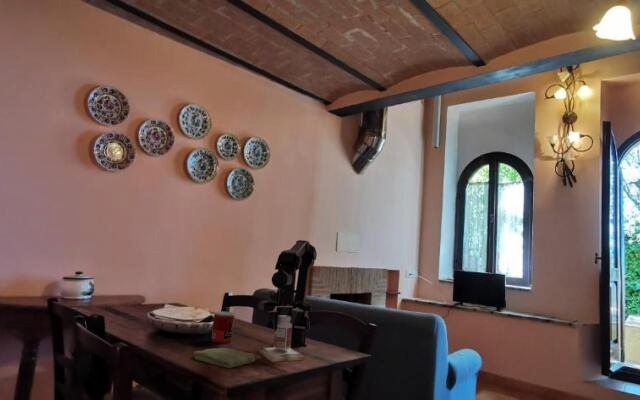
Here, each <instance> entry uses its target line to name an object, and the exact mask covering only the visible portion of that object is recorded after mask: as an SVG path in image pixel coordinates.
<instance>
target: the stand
mask: <svg viewBox="0 0 640 400" xmlns="http://www.w3.org/2000/svg"><path fill="white" fill-rule="evenodd" d="M258 353H259V354H260V355H261V356H263V357H264V358H265V359H267V360H268V361H270V362H272V363H274V362H275V363H276V362H289V361H292V362H293V361H304V359H305V356H304V355H303V354H301V352H299V351H297V350H295V349H293V348H291V347H290V348H289V349H287V350H280V349H276V348H274V347H273V346H272V347H262V349H259V350H258Z"/></svg>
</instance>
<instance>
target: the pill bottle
mask: <svg viewBox="0 0 640 400" xmlns="http://www.w3.org/2000/svg"><path fill="white" fill-rule="evenodd" d="M290 320H291V316H287V314H286V315H283V314H281V315H280V314H278V323H277V329H276V331H274V333H273V345H272V347H274V348H276V349H280V350H287V349H289V348H291V347H292V346H291V334H292V324H291V323H290Z"/></svg>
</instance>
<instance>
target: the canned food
mask: <svg viewBox="0 0 640 400" xmlns="http://www.w3.org/2000/svg"><path fill="white" fill-rule="evenodd" d="M234 323H235V312H231V311H222V310H221V311H220V310H219V311H215V312H214V315H213V325H212V332H211V341H212V343H215V344H223V345H224V344H230V343H231V342H232V340H233V333H234V325H235V324H234Z"/></svg>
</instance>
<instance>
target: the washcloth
mask: <svg viewBox="0 0 640 400" xmlns="http://www.w3.org/2000/svg"><path fill="white" fill-rule="evenodd" d="M193 356H194V359H195V360H198V361H201V362H203V363H208V364H212V365H214V366H217V367H218V366H220V367H223V368H227V369H232V368H235V367H236V368H237V367H240V366H243V365H248V364H253V363H254V362H256V356H255V355H254V353H252V352H244V351H242V350H236V349H232V348H226V347H218V348H217V347H216V348H215V347H214V348H206V349H203V350H196V351H194V353H193Z"/></svg>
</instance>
